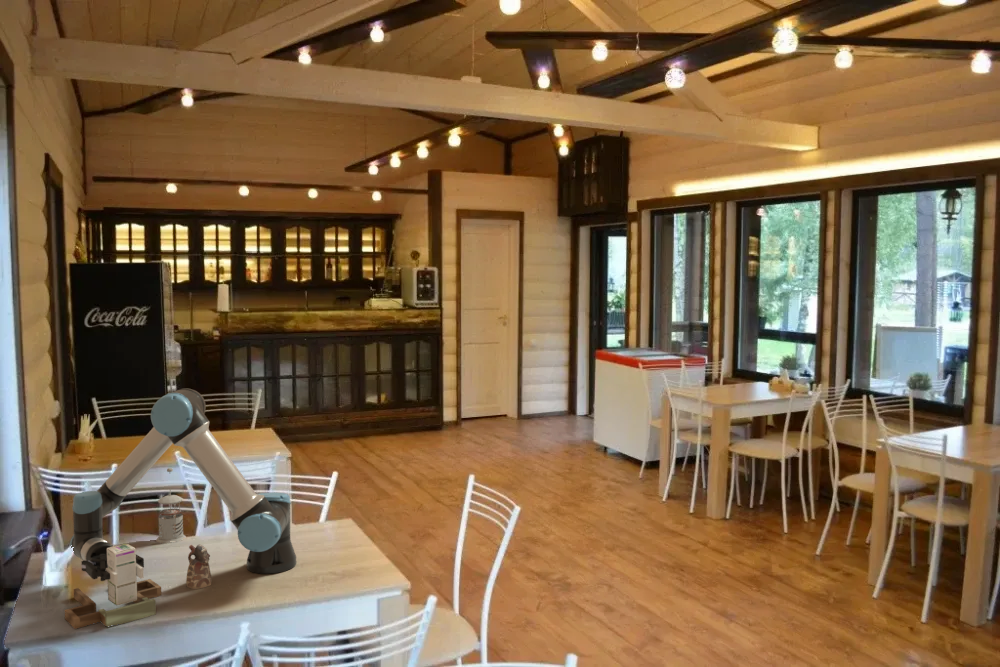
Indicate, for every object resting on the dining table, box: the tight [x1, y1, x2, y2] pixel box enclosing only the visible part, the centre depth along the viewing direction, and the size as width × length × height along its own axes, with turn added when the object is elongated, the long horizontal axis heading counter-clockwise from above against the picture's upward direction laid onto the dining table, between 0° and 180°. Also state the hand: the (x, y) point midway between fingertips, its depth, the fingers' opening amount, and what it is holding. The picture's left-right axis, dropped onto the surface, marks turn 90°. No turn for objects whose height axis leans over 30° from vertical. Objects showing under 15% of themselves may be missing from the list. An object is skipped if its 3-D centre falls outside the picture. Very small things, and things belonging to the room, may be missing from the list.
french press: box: [155, 467, 187, 544], centre depth 278 cm, size 10×12×25 cm
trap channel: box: [64, 578, 162, 630], centre depth 220 cm, size 27×25×4 cm
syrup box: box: [107, 543, 138, 606], centre depth 214 cm, size 6×6×14 cm
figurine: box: [185, 544, 213, 590], centre depth 236 cm, size 7×7×12 cm
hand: (129, 576), depth 210 cm, fingers closed on syrup box, 6 cm apart
